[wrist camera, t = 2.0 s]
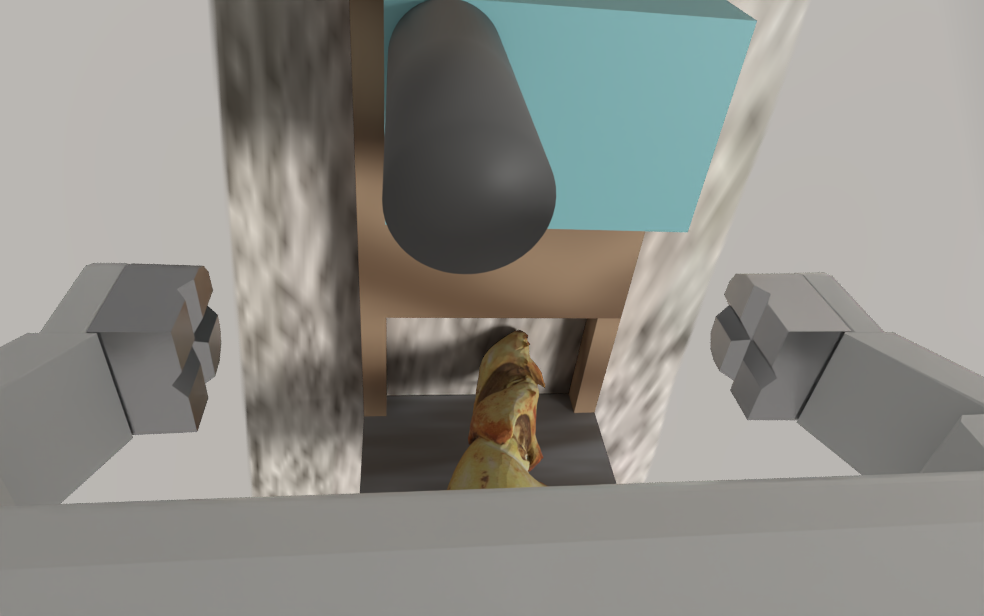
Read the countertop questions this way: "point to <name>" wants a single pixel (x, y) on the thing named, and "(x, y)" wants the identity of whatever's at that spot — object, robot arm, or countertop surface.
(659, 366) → the countertop surface
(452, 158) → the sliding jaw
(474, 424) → the crab claw
